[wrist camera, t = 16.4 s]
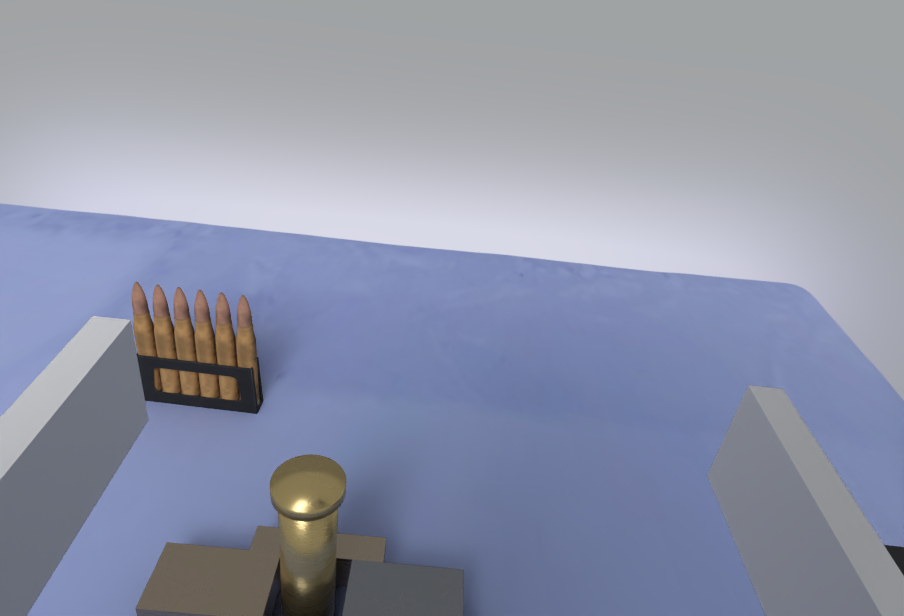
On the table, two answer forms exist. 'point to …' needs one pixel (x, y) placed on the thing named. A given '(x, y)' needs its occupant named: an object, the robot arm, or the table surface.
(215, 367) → the ammunition clip
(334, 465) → the link pin
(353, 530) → the table surface
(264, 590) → the chain joint
